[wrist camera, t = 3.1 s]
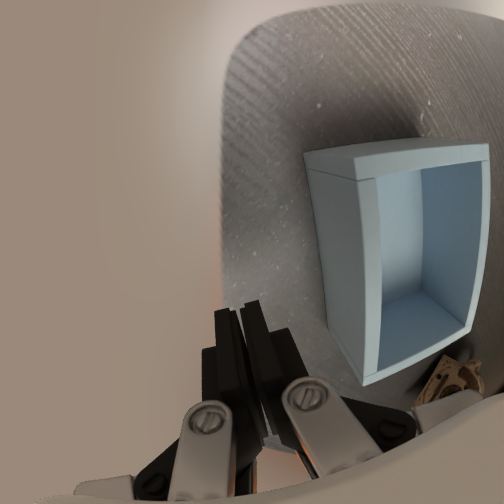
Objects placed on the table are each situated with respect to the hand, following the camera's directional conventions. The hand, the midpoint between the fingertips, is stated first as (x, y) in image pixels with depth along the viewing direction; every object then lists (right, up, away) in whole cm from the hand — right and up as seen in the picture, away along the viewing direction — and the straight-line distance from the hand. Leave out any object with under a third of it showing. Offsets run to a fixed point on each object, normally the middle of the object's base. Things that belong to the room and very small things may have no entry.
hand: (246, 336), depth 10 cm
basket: (+8, +4, +5) cm, 10 cm away
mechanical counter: (+22, -11, +13) cm, 28 cm away
